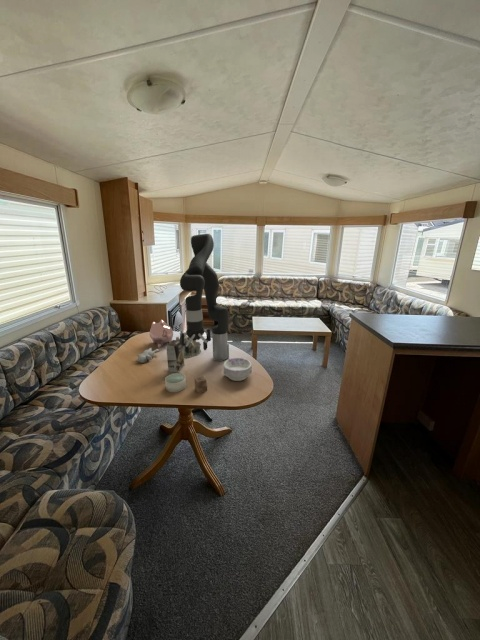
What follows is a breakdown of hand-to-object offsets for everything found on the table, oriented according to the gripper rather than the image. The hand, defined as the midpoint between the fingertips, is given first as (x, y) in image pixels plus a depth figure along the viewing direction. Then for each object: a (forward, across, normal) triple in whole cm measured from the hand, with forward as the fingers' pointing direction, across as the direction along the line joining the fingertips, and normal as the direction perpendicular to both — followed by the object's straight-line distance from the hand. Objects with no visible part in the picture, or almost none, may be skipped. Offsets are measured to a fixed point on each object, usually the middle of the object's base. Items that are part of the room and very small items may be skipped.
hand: (196, 351), depth 124 cm
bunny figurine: (+21, +17, -49) cm, 55 cm away
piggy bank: (+21, +4, -70) cm, 73 cm away
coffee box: (+21, +4, -27) cm, 34 cm away
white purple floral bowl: (+21, -23, -2) cm, 31 cm away
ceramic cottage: (+21, -7, -44) cm, 49 cm away
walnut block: (+21, -1, +1) cm, 21 cm away
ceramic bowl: (+21, +9, -8) cm, 24 cm away
